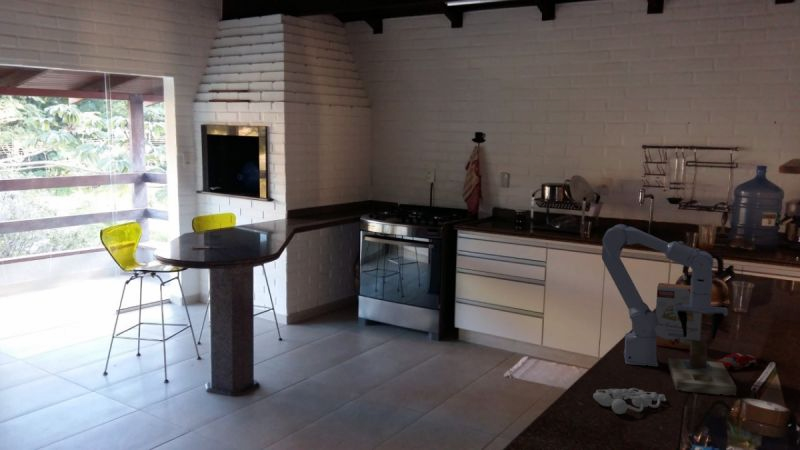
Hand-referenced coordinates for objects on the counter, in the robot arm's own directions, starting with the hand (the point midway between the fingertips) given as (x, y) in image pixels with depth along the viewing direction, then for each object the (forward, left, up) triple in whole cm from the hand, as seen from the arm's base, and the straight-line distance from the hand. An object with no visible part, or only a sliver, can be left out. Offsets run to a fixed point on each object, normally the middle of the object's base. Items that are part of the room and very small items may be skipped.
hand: (698, 336), depth 190 cm
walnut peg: (0, -4, -8) cm, 9 cm away
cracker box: (-3, +23, -11) cm, 25 cm away
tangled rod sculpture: (-21, -31, -11) cm, 39 cm away
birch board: (0, -8, -10) cm, 13 cm away
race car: (+12, +7, -11) cm, 17 cm away
